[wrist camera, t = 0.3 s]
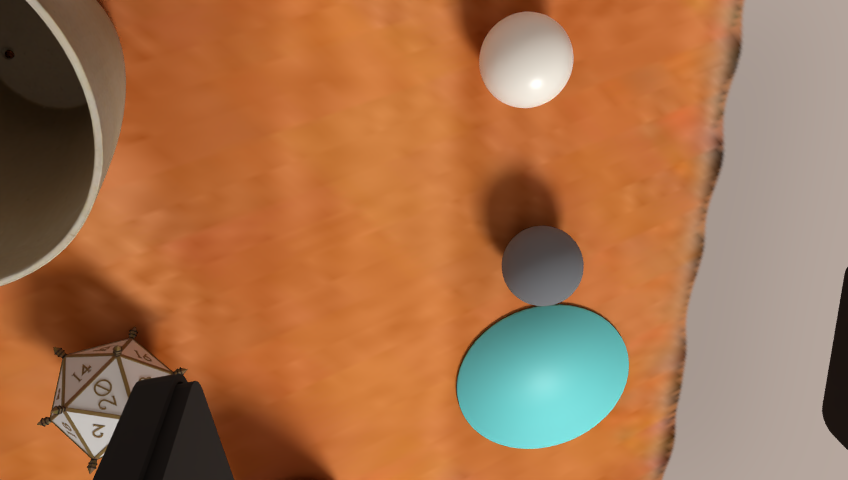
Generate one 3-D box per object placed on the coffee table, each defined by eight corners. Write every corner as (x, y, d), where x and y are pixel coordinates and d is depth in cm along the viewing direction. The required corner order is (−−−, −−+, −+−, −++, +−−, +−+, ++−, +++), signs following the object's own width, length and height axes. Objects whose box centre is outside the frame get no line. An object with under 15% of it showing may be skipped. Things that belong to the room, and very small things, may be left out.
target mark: (445, 323, 50) (446, 325, 50) (626, 288, 51) (627, 290, 51) (467, 461, 56) (468, 463, 56) (628, 428, 57) (629, 430, 57)
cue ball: (466, 14, 41) (484, 27, 36) (554, -1, 41) (584, 10, 36) (476, 102, 43) (494, 126, 38) (559, 87, 43) (588, 109, 38)
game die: (116, 325, 51) (-5, 339, 42) (210, 320, 48) (104, 334, 39) (120, 444, 51) (-1, 485, 41) (216, 446, 48) (110, 490, 38)
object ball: (490, 220, 47) (508, 256, 42) (566, 206, 47) (593, 240, 42) (498, 287, 49) (516, 328, 44) (570, 273, 50) (596, 312, 45)
